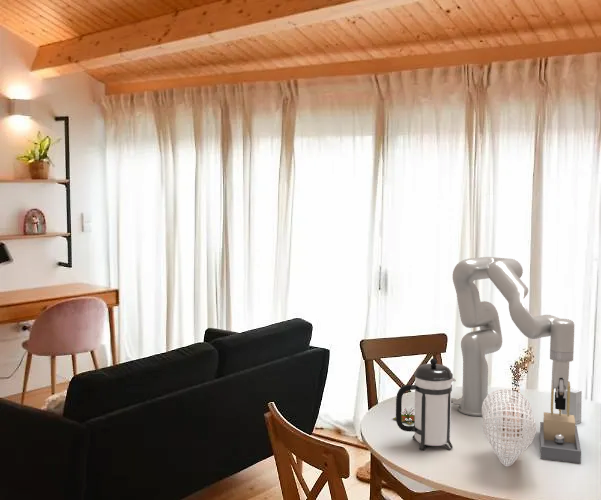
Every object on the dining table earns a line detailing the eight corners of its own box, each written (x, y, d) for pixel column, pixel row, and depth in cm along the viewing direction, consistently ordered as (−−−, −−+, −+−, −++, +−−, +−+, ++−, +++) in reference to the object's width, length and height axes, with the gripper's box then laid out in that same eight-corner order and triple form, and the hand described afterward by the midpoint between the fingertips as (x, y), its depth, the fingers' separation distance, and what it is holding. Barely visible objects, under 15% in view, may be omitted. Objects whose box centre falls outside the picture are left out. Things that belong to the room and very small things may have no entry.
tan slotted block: (551, 414, 233) (552, 384, 232) (550, 409, 238) (551, 380, 237) (569, 416, 231) (570, 386, 230) (568, 411, 236) (569, 381, 235)
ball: (554, 432, 229) (553, 432, 232) (554, 443, 228) (553, 443, 231) (565, 433, 228) (564, 433, 231) (564, 444, 227) (564, 444, 230)
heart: (480, 446, 230) (481, 382, 228) (527, 450, 226) (530, 385, 224) (482, 481, 203) (484, 409, 200) (537, 487, 199) (539, 413, 197)
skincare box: (581, 422, 253) (583, 390, 252) (575, 424, 250) (576, 392, 249) (566, 417, 258) (567, 386, 256) (559, 420, 255) (561, 389, 253)
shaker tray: (540, 458, 220) (541, 434, 219) (539, 432, 242) (540, 411, 241) (580, 463, 216) (581, 439, 215) (576, 436, 238) (577, 414, 238)
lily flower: (385, 420, 256) (385, 408, 256) (405, 413, 264) (405, 401, 264) (411, 428, 247) (411, 416, 247) (430, 420, 256) (431, 409, 255)
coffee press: (424, 432, 243) (425, 350, 240) (462, 444, 232) (464, 358, 229) (394, 445, 231) (395, 359, 228) (433, 459, 220) (435, 368, 216)
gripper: (549, 348, 242) (547, 397, 244) (550, 360, 226) (548, 413, 227) (572, 350, 239) (570, 399, 241) (574, 362, 223) (572, 415, 225)
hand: (559, 405), depth 234 cm, fingers closed on tan slotted block, 5 cm apart
